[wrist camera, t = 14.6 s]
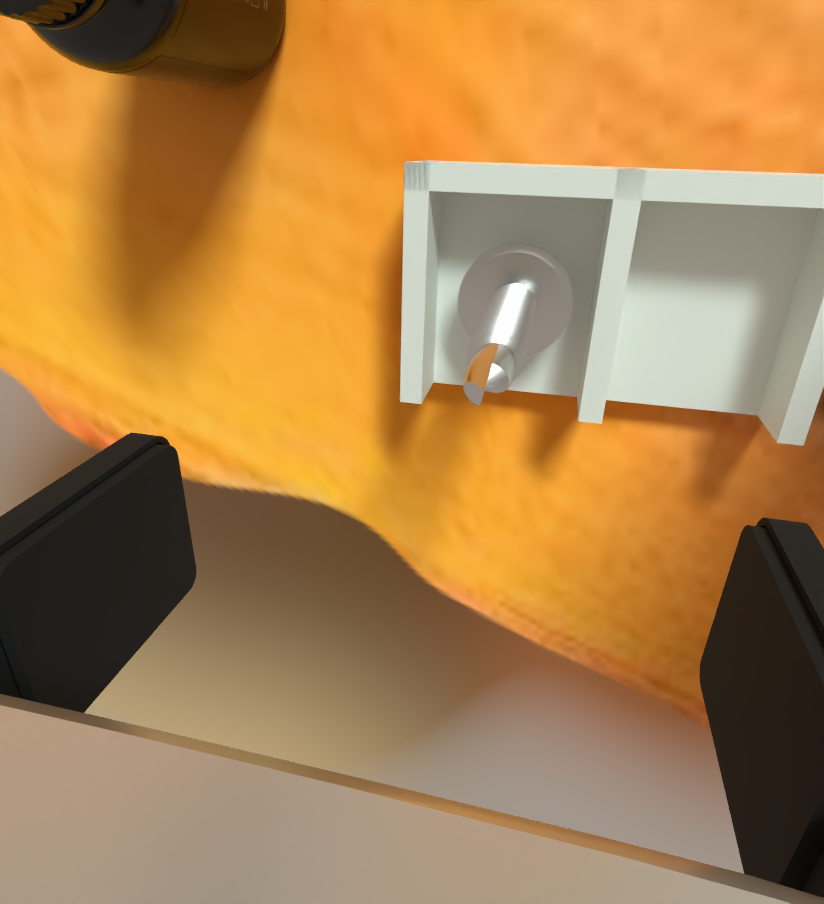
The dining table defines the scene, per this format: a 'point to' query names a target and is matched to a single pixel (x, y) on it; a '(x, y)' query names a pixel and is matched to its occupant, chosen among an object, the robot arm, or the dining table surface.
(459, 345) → the rack
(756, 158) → the dining table surface
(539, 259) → the screw
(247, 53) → the supplement bottle
